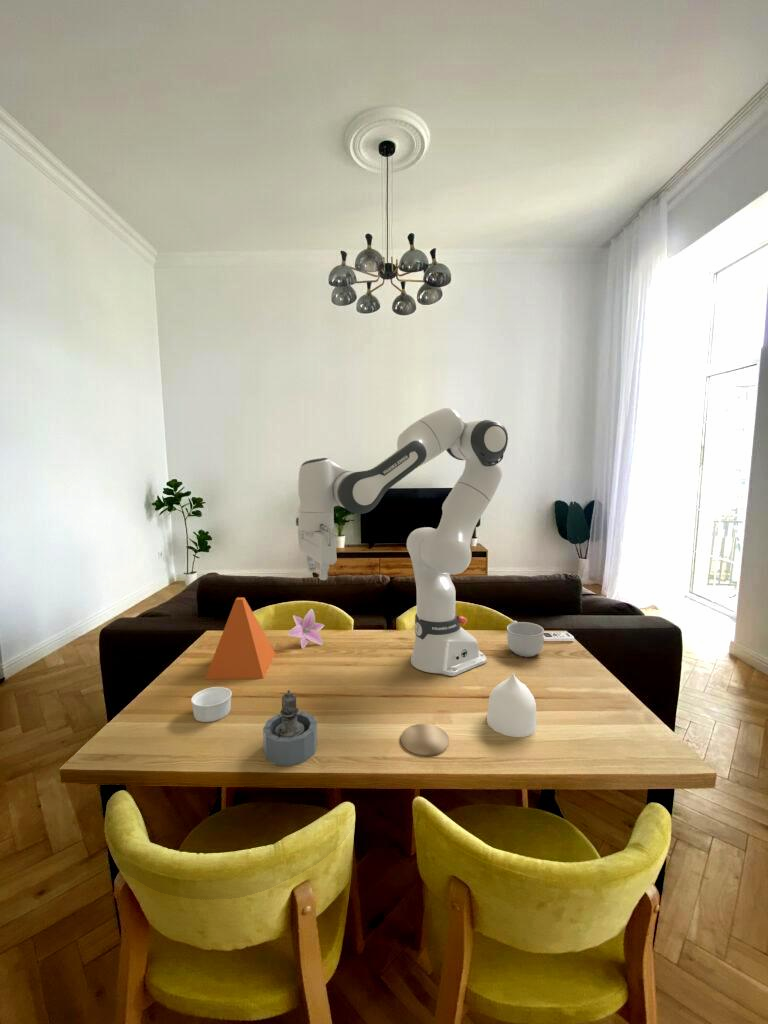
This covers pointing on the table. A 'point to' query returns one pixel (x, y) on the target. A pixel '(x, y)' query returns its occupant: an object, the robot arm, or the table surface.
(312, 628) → the lily
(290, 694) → the grey chess piece
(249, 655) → the pyramid
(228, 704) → the ramekin
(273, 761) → the grey faceted cup
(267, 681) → the table surface
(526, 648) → the teacup
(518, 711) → the teardrop
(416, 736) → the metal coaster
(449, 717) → the table surface
